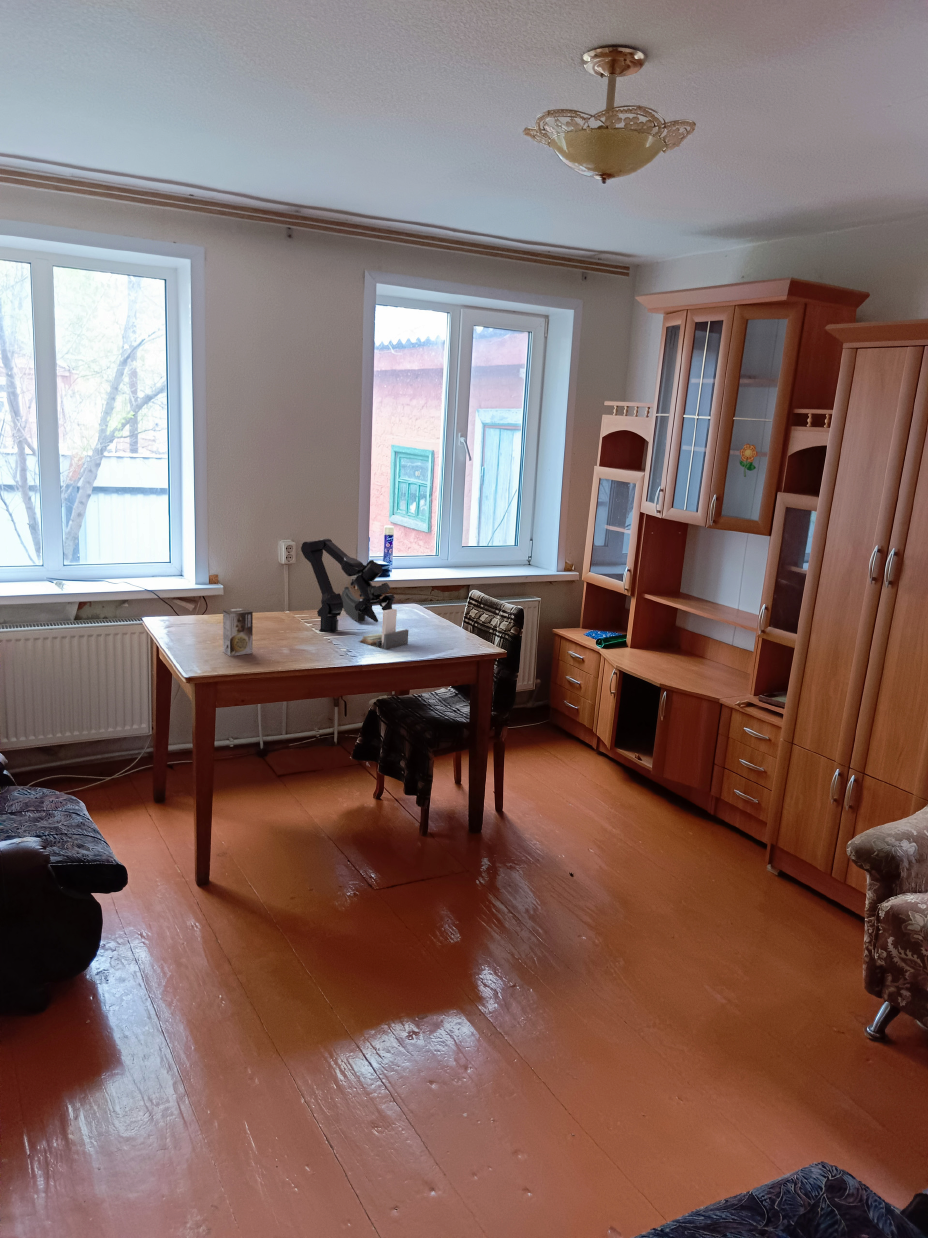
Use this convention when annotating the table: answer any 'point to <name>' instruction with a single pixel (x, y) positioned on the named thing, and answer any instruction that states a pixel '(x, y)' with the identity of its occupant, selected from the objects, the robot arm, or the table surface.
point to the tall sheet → (388, 622)
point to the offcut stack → (371, 639)
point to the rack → (392, 640)
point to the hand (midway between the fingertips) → (385, 620)
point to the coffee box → (237, 631)
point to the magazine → (351, 605)
